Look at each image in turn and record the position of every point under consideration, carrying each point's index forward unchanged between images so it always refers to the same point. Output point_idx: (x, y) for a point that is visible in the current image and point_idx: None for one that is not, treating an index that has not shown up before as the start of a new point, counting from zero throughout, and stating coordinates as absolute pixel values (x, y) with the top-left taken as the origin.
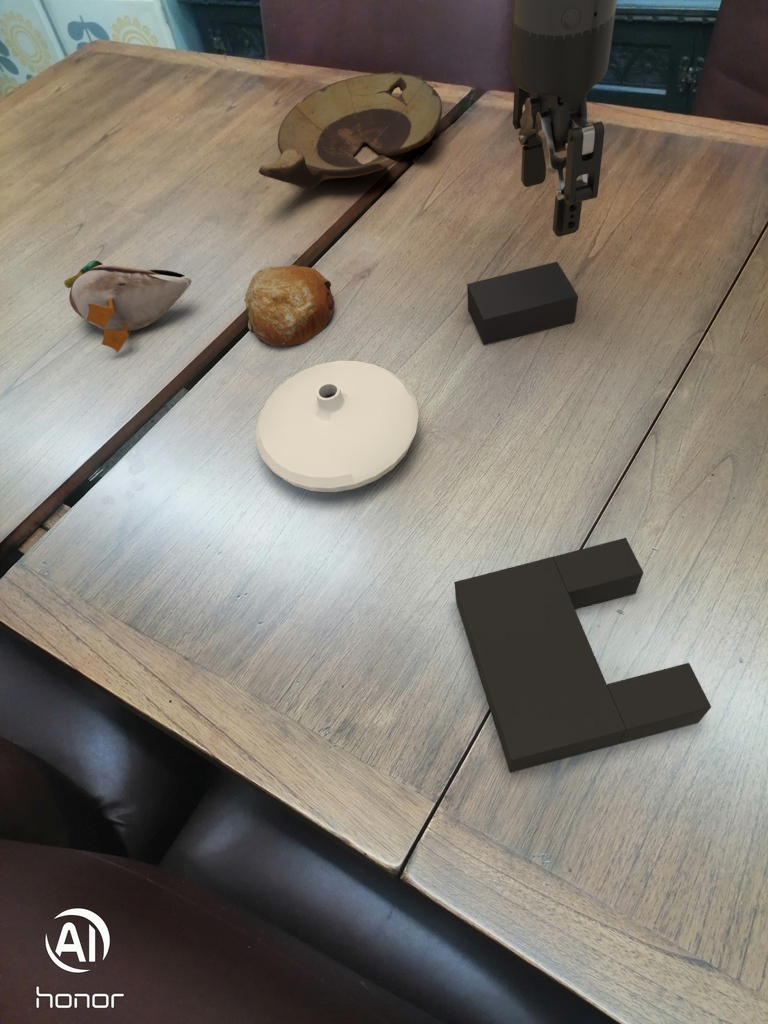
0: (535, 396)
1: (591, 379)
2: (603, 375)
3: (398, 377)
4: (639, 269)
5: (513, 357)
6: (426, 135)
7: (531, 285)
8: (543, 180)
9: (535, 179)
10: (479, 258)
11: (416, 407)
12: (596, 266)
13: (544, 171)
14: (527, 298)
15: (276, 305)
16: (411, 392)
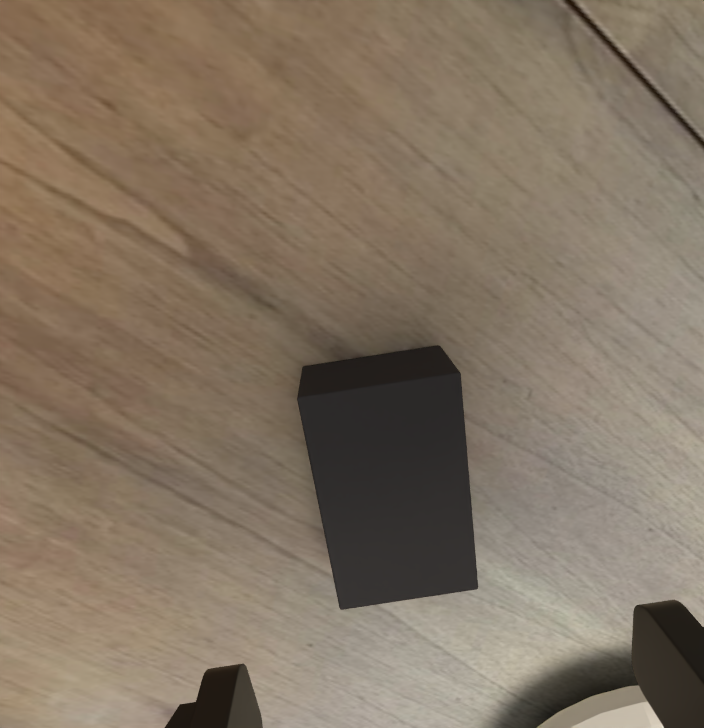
0: (631, 462)
1: (628, 347)
2: (626, 319)
3: (576, 725)
4: (265, 119)
5: (509, 486)
6: None
7: (384, 476)
8: (242, 670)
9: (246, 713)
10: (156, 514)
11: None
12: (231, 241)
13: (231, 714)
14: (434, 493)
15: None
16: (625, 709)
